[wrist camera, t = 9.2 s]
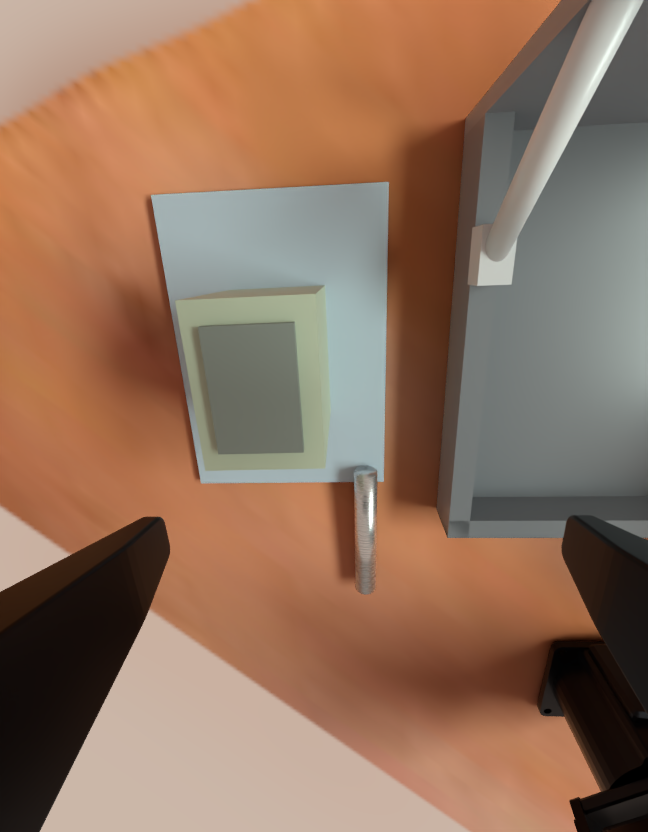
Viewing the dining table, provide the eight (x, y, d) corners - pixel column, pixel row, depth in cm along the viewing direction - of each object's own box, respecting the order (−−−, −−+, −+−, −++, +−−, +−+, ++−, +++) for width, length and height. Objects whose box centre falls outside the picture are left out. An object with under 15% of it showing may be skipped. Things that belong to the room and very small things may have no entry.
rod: (374, 578, 24) (376, 594, 23) (355, 578, 24) (355, 594, 23) (376, 465, 20) (378, 478, 19) (353, 466, 20) (354, 478, 19)
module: (330, 410, 20) (324, 472, 14) (244, 413, 20) (202, 474, 14) (325, 285, 17) (315, 294, 12) (228, 289, 18) (170, 301, 12)
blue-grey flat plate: (382, 477, 21) (383, 481, 21) (203, 479, 22) (201, 483, 21) (387, 183, 16) (388, 181, 16) (155, 196, 17) (150, 195, 16)
